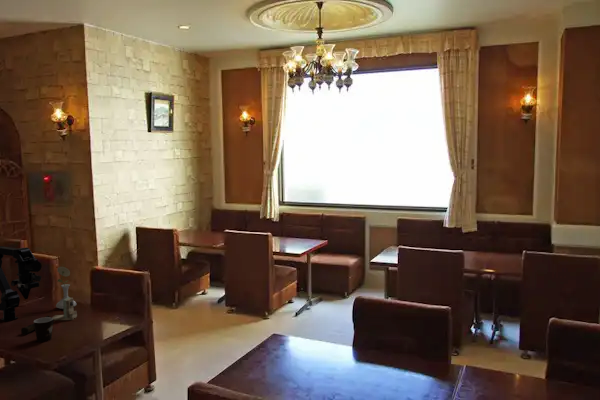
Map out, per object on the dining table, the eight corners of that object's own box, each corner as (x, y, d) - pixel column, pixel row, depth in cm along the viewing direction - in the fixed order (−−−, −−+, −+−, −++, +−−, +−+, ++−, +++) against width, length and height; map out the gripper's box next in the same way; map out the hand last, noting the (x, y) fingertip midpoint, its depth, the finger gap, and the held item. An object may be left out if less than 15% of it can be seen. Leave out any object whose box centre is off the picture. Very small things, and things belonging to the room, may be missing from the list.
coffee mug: (40, 344, 243) (39, 324, 242) (30, 340, 247) (30, 321, 246) (63, 336, 252) (62, 317, 252) (53, 333, 257) (52, 314, 256)
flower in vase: (80, 306, 303) (79, 266, 301) (63, 311, 294) (61, 269, 291) (67, 303, 310) (66, 263, 308) (50, 308, 301) (48, 267, 298)
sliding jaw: (62, 317, 278) (61, 300, 277) (66, 314, 284) (66, 297, 283) (66, 317, 278) (65, 300, 277) (71, 314, 284) (70, 297, 283)
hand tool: (27, 335, 255) (26, 326, 255) (20, 334, 256) (20, 325, 256) (54, 323, 273) (54, 315, 273) (48, 323, 274) (48, 314, 274)
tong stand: (50, 320, 278) (49, 301, 277) (55, 316, 284) (54, 297, 283) (72, 319, 278) (71, 300, 278) (76, 316, 284) (76, 297, 284)
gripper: (47, 269, 274) (50, 297, 275) (29, 266, 284) (31, 293, 285) (27, 273, 264) (29, 302, 265) (9, 270, 275) (11, 298, 276)
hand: (26, 299), depth 273 cm, fingers closed
